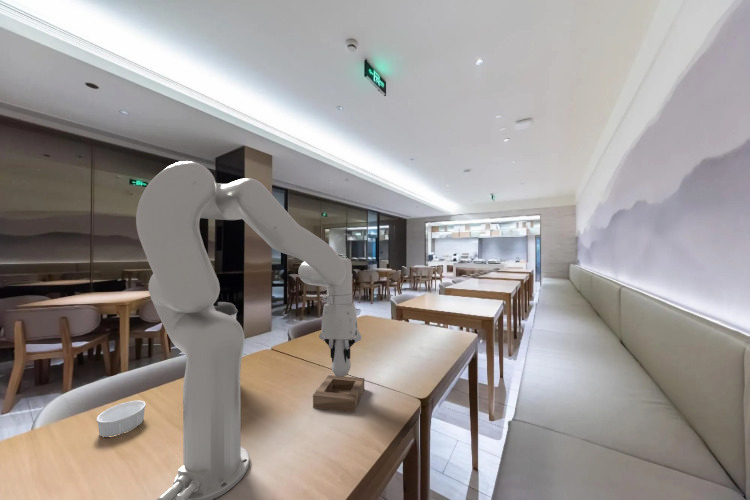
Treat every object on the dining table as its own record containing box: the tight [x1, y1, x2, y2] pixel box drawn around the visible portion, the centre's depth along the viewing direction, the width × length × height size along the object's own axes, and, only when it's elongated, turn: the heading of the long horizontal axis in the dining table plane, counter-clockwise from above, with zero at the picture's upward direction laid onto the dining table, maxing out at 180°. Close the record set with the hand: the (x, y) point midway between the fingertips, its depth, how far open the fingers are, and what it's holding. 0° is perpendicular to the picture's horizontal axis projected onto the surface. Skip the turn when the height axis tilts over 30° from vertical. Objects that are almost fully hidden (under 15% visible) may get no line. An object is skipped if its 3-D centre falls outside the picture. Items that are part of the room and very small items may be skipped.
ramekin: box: [96, 399, 147, 438], centre depth 65 cm, size 9×9×4 cm
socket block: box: [312, 374, 365, 413], centre depth 77 cm, size 12×12×4 cm
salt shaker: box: [331, 339, 352, 377], centre depth 78 cm, size 6×6×13 cm
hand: (340, 360), depth 78 cm, fingers closed on salt shaker, 3 cm apart
